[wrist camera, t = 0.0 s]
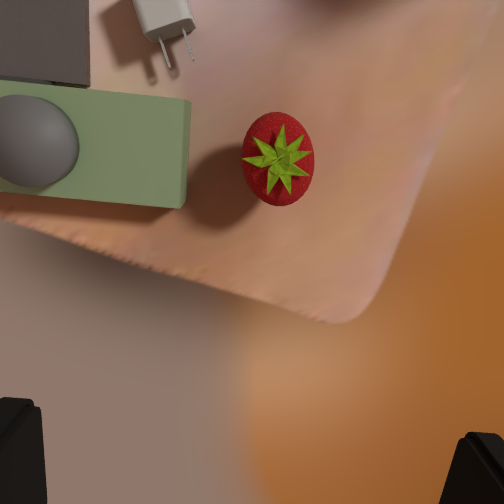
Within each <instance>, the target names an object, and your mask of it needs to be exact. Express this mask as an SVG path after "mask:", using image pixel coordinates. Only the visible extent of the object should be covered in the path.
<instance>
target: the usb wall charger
mask: <svg viewBox="0 0 504 504" xmlns="http://www.w3.org/2000/svg"><path fill="white" fill-rule="evenodd" d="M132 2H133V5H134V8H135V11H136V14H137V17H138V20H139V23H140V26H141V28H142V31H143V34H144V36H145V37H146V38H147V39H148V40H150V41H151V42H152V43H157V42H160V44H161V47H162V50H163V53H164V56H165V59H166V62H167V65H168V67H169V68H170V69H171V65H170V62H169V59H168V56H167V53H166V50H165V47H164V44H163V40H166V39H169V38H172V37H175V36H178V35H181V34H184V37H185V40H186V44H187V47H188V50H189V53H190V56H191V59H192V60H193V61H194V58H193V55H192V51H191V48H190V45H189V42H188V39H187V36H186V33H187V32H190V31H192V30H194V29H195V28H196V26H195V23H194V19H193V16H192V13H191V10H190V6H189V3H188V0H132Z"/></svg>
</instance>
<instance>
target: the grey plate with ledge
mask: <svg viewBox="0 0 504 504" xmlns="http://www.w3.org/2000/svg"><path fill="white" fill-rule="evenodd" d="M0 75H4V76H14V77H23V78H33V79H40V80H44V81H49V82H58V83H68V84H77V85H87V86H90V42H89V0H0Z"/></svg>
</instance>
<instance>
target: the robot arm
mask: <svg viewBox="0 0 504 504" xmlns="http://www.w3.org/2000/svg"><path fill="white" fill-rule="evenodd" d="M0 504H47V487H46V473H45V459H44V445H43V431H42V417H41V409H40V408H39V407H35V406H34V403H33V401H32V400H31V399H24V398H11V397H3V398H1V399H0ZM439 504H504V440H503V439H502V438H501V437H500V436H499V435H497V434H495V433H482V432H468V433H467V434H466V435H465V437H464V438H461V439H460V440H459V441H458V444H457V447H456V450H455V453H454V457H453V460H452V463H451V466H450V470H449V472H448V476H447V479H446V482H445V485H444V489H443V492H442V495H441V498H440V502H439Z"/></svg>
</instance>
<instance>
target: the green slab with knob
mask: <svg viewBox="0 0 504 504" xmlns="http://www.w3.org/2000/svg"><path fill="white" fill-rule="evenodd" d="M190 115H191V102H189V101H187V100H185V99H177V98H167V97H158V96H148V95H139V94H129V93H120V92H110V91H101V90H92V89H82V88H73V87H63V86H54V85H53V83H52V82H48V81H44V80H40V79H33V78H23V77H14V76H4V75H0V192H7V193H18V194H29V195H39V196H50V197H60V198H71V199H82V200H92V201H103V202H113V203H124V204H134V205H145V206H156V207H166V208H177V209H180V208H181V206H182V205H183V204H184V203H185V202H186V196H187V176H188V156H189V136H190Z"/></svg>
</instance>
